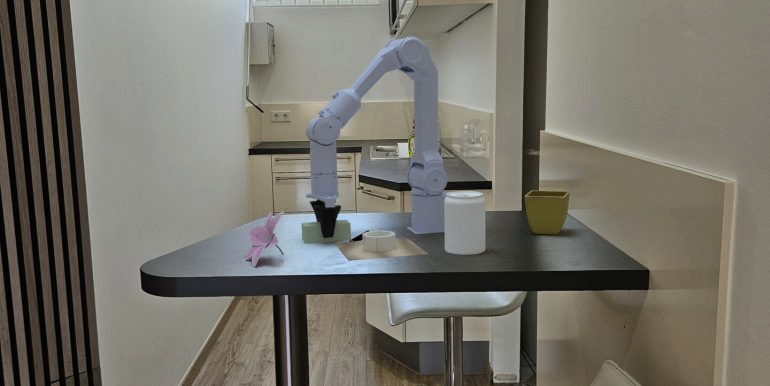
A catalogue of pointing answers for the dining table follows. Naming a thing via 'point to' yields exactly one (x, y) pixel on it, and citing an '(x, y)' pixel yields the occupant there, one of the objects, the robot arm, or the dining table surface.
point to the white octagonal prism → (379, 241)
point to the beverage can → (464, 222)
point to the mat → (358, 253)
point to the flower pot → (547, 210)
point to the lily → (263, 237)
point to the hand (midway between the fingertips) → (326, 234)
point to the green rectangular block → (314, 233)
